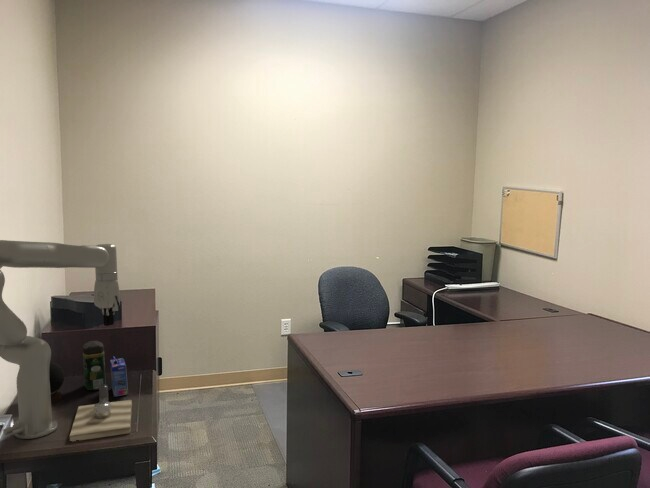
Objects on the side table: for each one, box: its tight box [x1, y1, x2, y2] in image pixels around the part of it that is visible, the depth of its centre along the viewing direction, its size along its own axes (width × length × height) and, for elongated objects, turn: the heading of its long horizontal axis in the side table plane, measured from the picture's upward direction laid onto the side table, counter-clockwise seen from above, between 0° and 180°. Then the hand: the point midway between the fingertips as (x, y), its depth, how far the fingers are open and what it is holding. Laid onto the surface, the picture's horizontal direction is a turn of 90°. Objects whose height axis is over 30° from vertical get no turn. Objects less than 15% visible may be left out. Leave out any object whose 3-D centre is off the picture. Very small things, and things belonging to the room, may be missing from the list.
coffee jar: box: [82, 340, 107, 391], centre depth 210 cm, size 10×8×19 cm
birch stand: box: [69, 399, 133, 442], centre depth 178 cm, size 24×18×2 cm
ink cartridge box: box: [109, 355, 129, 398], centre depth 205 cm, size 10×6×14 cm, turn 27°
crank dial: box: [94, 384, 111, 419], centre depth 182 cm, size 13×5×7 cm, turn 21°
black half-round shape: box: [49, 360, 65, 405], centre depth 197 cm, size 13×13×15 cm
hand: (108, 324), depth 195 cm, fingers closed
